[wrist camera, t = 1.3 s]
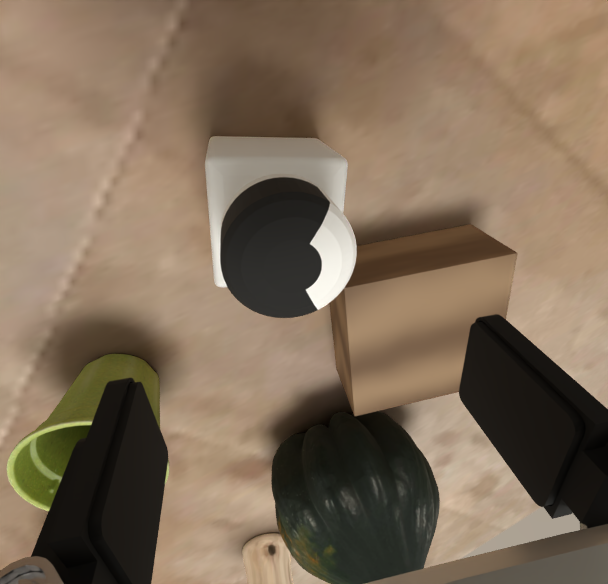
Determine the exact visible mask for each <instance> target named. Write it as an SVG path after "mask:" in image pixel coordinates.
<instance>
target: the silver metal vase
mask: <svg viewBox="0 0 608 584" xmlns="http://www.w3.org/2000/svg"><path fill="white" fill-rule="evenodd" d="M242 556H243V561H244V566H245V571H246V578H247V584H294V583H293V577H292V571H291V553H290V551H289V550H288V548H287V547H286V545H285V543H284V541H283V539H282V537H281V535H280V534H279V533H267V534H262V535H259V536H257V537H254V538H252V539H251V540H249V541H248V542H247V543H246V544H245V545H244V547H243V549H242Z"/></svg>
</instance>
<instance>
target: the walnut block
mask: <svg viewBox="0 0 608 584" xmlns="http://www.w3.org/2000/svg"><path fill="white" fill-rule="evenodd" d="M516 259H517V252H515V251H513V250H512V249H510V248H508V247H507V246H505V245H504V244H502V243H500V242H499V241H497V240H495V239H494V238H492V237H491V236H489V235H487V234H486V233H484V232H483V231H481V230H479V229H478V228H476V227H474V226H473V225H471V224H468V225H463V226H458V227H453V228H448V229H442V230H437V231H432V232H427V233H422V234H417V235H411V236H406V237H401V238H396V239H391V240H385V241H380V242H375V243H370V244H365V245H359V246H357V256H356V262H355V266H354V270H353V273H352V275H351V277H350V279H349V281H348V283H347V284H346V286H345V287H344V289H343V290H342V291H341V292H340V294H339V295H338V296H337V297H336V298H334V299H333V300H332V301H331V302H330V312H331V321H332V331H333V340H334V349H335V359H336V368H337V372H338V374H339V377H340V379H341V382H342V385H343V387H344V390H345V392H346V395H347V398H348V400H349V403H350V406H351V408H352V411H353V413H354V416H359V415H363V414H367V413H371V412H376V411H380V410H384V409H388V408H393V407H397V406H401V405H405V404H410V403H414V402H418V401H422V400H427V399H431V398H435V397H439V396H443V395H448V394H452V393H456V392H459V387H460V382H461V376H462V370H463V365H464V359H465V354H466V348H467V343H468V337H469V332H470V327H471V325H472V324H473V323H475V320H476V319H477V318H479V317H483V316H489V315H495V314H498V315H500V316H502V317H503V318H504V319H505V320H506V315H507V309H508V303H509V298H510V292H511V287H512V281H513V275H514V270H515V264H516Z"/></svg>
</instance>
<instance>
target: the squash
mask: <svg viewBox="0 0 608 584" xmlns="http://www.w3.org/2000/svg"><path fill="white" fill-rule="evenodd" d="M272 491H273V496H274V500H275V508H276V518H277V525H278V529H279V532H280V535H281V537H282V539H283V541H284V543H285V545H286V547H287V548H288V550H289V551H290V553H291V555H292V556H293V558H294V559H295V560H296V561H297V563H298V564H299V565H300V566H301V567H302V568H303V569H305V570H306V571H307V572H309V573H310V574H312V575H314V576H316V577H318V578H319V579H321V580H324V581H326V582H328V583H331V584H365V583H369V582H373V581H377V580H381V579H384V578H388V577H392V576H396V575H400V574H404V573H408V572H412V571H416V570H420V569H423V568H424V564H425V561H426V557H427V554H428V551H429V548H430V545H431V542H432V539H433V536H434V533H435V529H436V525H437V519H438V514H439V501H440V500H439V492H438V487H437V484H436V481H435V478H434V475H433V472H432V470H431V467H430V465H429V463H428V461H427V460H426V458H425V456H424V455H423V453H422V452H421V451H420V450H419V449H418V447H417V446H416V444H415V443H414V441H413V440H412V438H411V437H410V436H409V434H408V433H407V432H406V431H405V430H404V429H403V428H402V427H401V426H400V425H399V424H398V423H396V422H395V421H394V420H393V419H392V418H390V417H389V416H388V415H386V414H384V413H382V412H379V411H376V412H371V413H367V414H363V415H359V416H354V414H352V415H350V414H348V413H344V412H340V413H336V414H334V415H333V417H332V418H331V419H330V422H329V428H328V427H326V426H324V425H315V426H312V427H311V428H310V429H309V430H308V431H307V432H306V433H300V434H295V435H293V436H291V437H290V438H288V439H287V440H286V441H284V442H283V443H282V444H281V446H280V447H279V448H278V450H277V452H276V455H275V456H274V459H273V464H272Z"/></svg>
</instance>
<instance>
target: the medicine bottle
mask: <svg viewBox="0 0 608 584" xmlns="http://www.w3.org/2000/svg"><path fill="white" fill-rule="evenodd" d="M347 168H348V163H347V160H346V159H345V158H344V157H343V156H341V155H340V154H339V153H337V152H336V151H334V150H333V149H332V148H330V147H329V146H327V145H326V144H325V143H323V142H322V141H320V140H319V139H317V138H282V137H232V136H213V137H211V138H210V139H209V144H208V150H207V155H206V160H205V172H206V184H207V197H208V209H209V222H210V234H211V247H212V259H213V272H214V282H215V284H216V285H217V286H218V287H228V288H229V290H230V291H231V293H232V294H233V295H234V296H235V298H236V299H237V300H238V301H240V302H241V303H242V304H243V305H244V306H246V307H248V308H249V309H251V310H253V311H255V312H257V313H259V314H263V315H266V316H270V317H276V318H292V317H298V316H303V315H306V314H309V313H312V312H314V311H317V310H319V309H320V308H322V307H324V306H326V305H327V304H328V303H330V302H331V301H332V300H333V299H334V298H336V297H337V296H338V295H339V294H340V292H341V291H342V290H343V289H344V287H345V286H346V284H347V283H348V281H349V279H350V277H351V275H352V273H353V270H354V266H355V262H356V256H357V246H356V239H355V235H354V232H353V229H352V227H351V225H350V223H349V221H348V220H347V218H346V217H345V216H344V214H343V210H344V200H345V189H346V179H347Z"/></svg>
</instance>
